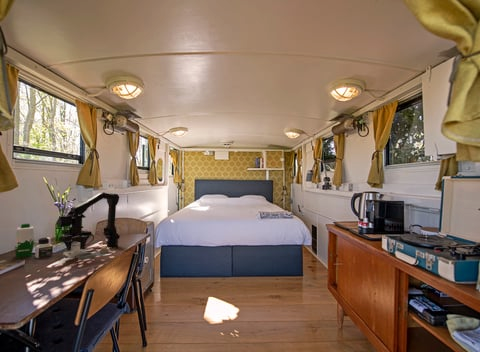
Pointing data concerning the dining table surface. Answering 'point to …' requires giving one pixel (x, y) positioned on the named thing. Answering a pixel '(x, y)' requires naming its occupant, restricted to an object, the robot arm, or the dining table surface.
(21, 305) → the dining table surface
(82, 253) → the tray
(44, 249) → the medicine bottle
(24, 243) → the milk carton
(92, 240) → the cup
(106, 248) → the plunger
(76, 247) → the cartridge
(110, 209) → the robot arm
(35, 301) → the dining table surface
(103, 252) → the filter head
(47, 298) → the dining table surface
